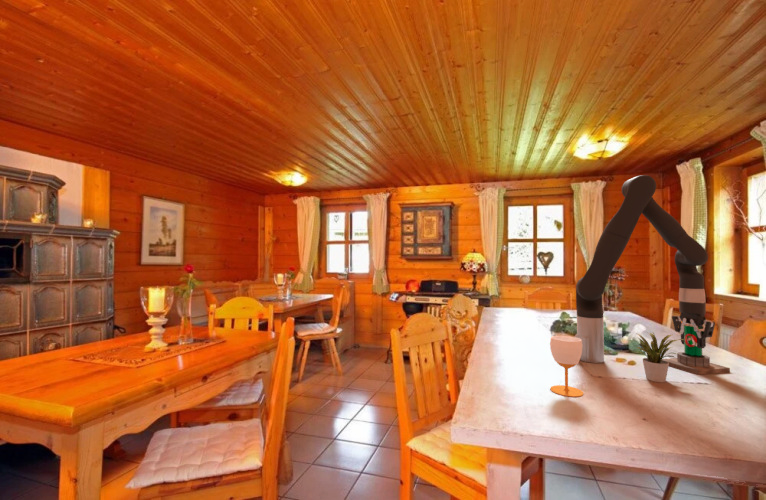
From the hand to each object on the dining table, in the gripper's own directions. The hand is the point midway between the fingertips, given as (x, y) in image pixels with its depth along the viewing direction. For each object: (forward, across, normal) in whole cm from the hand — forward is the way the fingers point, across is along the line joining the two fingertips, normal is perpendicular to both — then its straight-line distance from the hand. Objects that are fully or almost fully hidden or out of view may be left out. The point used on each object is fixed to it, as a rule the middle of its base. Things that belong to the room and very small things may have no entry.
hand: (693, 346), depth 133 cm
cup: (+8, +12, -63) cm, 65 cm away
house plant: (+8, +9, -25) cm, 28 cm away
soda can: (+4, 0, 0) cm, 4 cm away
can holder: (+8, 0, 0) cm, 8 cm away
